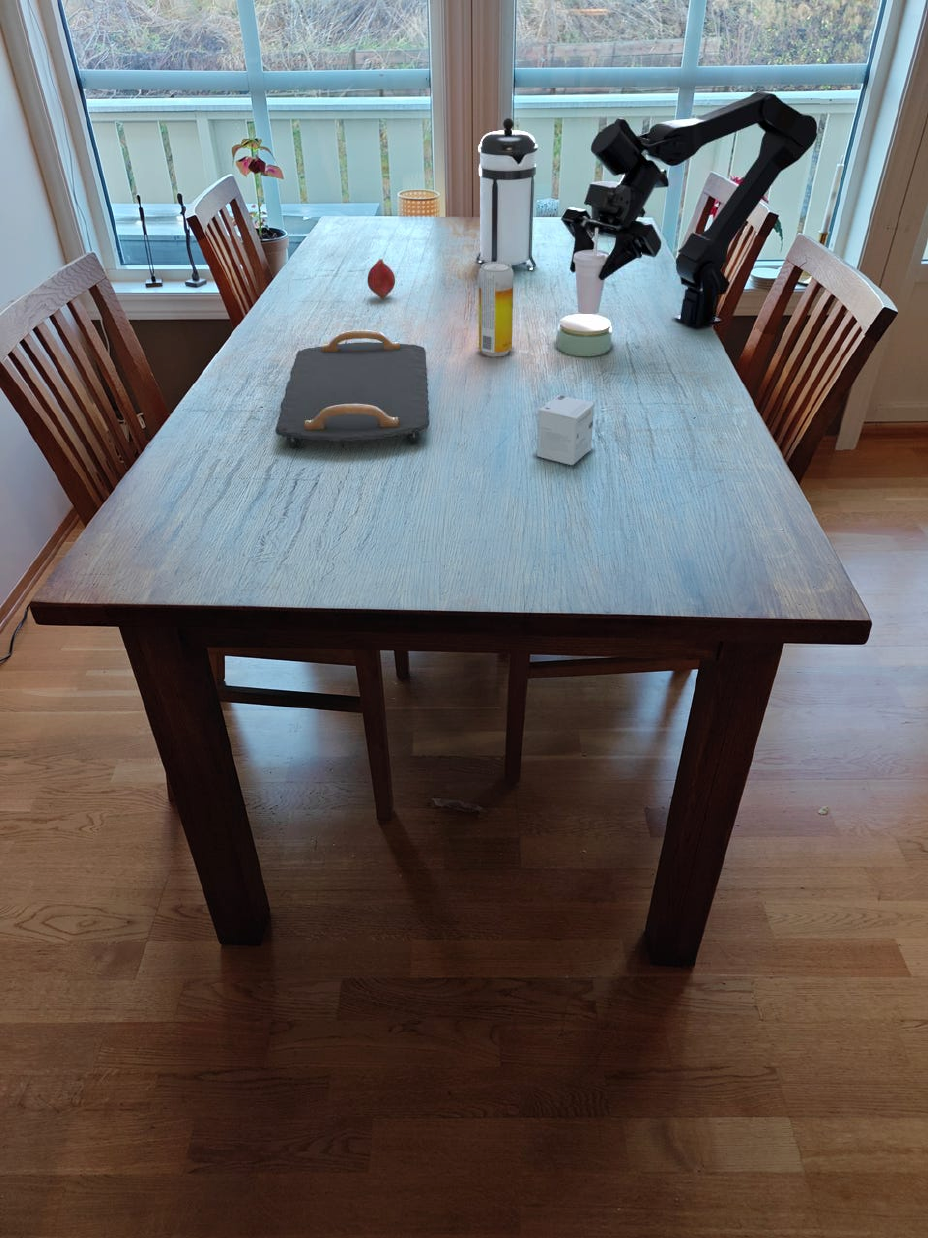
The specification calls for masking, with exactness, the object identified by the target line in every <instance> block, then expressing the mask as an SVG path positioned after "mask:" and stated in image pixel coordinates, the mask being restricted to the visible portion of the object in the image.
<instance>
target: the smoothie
mask: <svg viewBox="0 0 928 1238" xmlns="http://www.w3.org/2000/svg"><path fill="white" fill-rule="evenodd" d="M598 241H599V234H598V228H595V235H594V239H593V242H594V249H593V250H583V251H579V252H576V253H575V254H574V259H573V262H574V263H575V283H576V284H575V285H576V300H577V302H576V303H577V312H578V313H579V314H585V315H596V314H598V313H599V312H600V307H601V301H602V296H603V291H604V285H605V282H606V281H605V280H606V278H605V279H604V280H600V279H599V274H600V272H601V270H602V268H603V266H604V264H605V262H606V261H607V259H608V257H609V255H610V253H609V252H607V251H605V250H599V249H598Z"/></svg>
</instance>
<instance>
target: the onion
mask: <svg viewBox="0 0 928 1238" xmlns="http://www.w3.org/2000/svg"><path fill="white" fill-rule="evenodd" d="M367 285H368V288H369V289H370V291H371V292H372V293H373V294H375V295H376V296H377V297H379V298H380V299H386V298H387V296H388V295H389V294H390V293H391V292H392V291H393V289H394V287H395V285H396V277H395V273H394V271H393V270H392V269H391V267H390V266H389V265H387V264H385V263H384V261H383V259H382V258H379V259H378V261H377V262H376V263H375V264H373V266H372V267H371V268H370V269H369V271H368V273H367Z"/></svg>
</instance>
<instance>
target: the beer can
mask: <svg viewBox="0 0 928 1238" xmlns="http://www.w3.org/2000/svg"><path fill="white" fill-rule="evenodd" d="M514 273H515V272H514V270H513V268H512V265H510V264H508V263H504V262H489V263H487V262H485V263H482V264H481V265H480V269H479V271H478V349H479V350H480V351H481V353H482V354H483V355H485V356H488V357H502V356H505V355H508V354H509V353H510V351H511V349H513V323H514V322H513V321H514V319H513V318H514V317H513V315H514V276H515V274H514Z"/></svg>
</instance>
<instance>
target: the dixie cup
mask: <svg viewBox="0 0 928 1238" xmlns="http://www.w3.org/2000/svg"><path fill="white" fill-rule="evenodd" d="M619 183H620V182H618V181H617V182H616V181H611V180H600V181H593V182H591V183H590V184H596V185H601V186H606V187H610V188H611V187H615V188H616V187H617V185H618V184H619ZM590 207H591V208H590V209H591V210H590V211H591V218H592V220H595V221H598V220H599V217H598V216H596V215H595V214H594V210H595V208H594V207H592V206H590Z"/></svg>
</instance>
